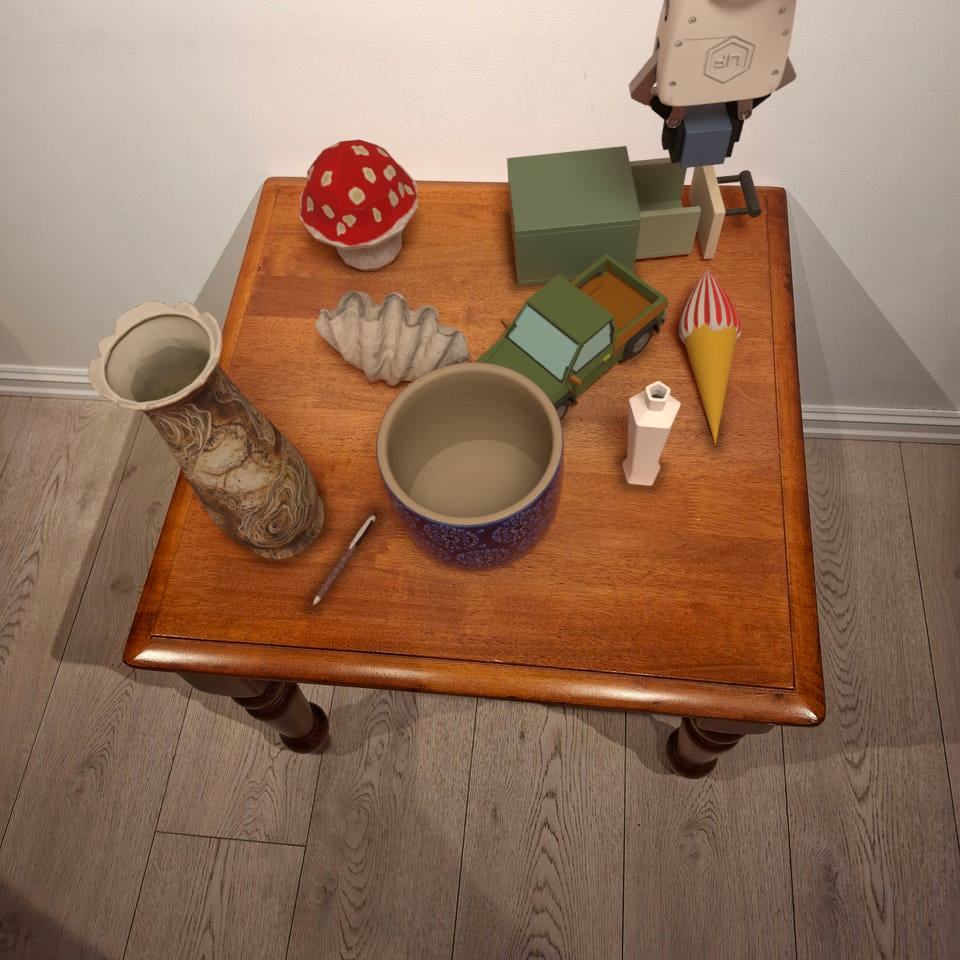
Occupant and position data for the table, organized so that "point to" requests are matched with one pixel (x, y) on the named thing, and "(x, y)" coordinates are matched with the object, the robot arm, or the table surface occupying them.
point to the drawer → (676, 226)
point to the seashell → (391, 337)
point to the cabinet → (571, 212)
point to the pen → (345, 558)
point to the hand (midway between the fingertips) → (698, 148)
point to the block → (705, 135)
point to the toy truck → (579, 330)
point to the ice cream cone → (710, 343)
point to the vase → (210, 427)
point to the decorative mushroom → (358, 203)
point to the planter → (473, 464)
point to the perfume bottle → (648, 432)
